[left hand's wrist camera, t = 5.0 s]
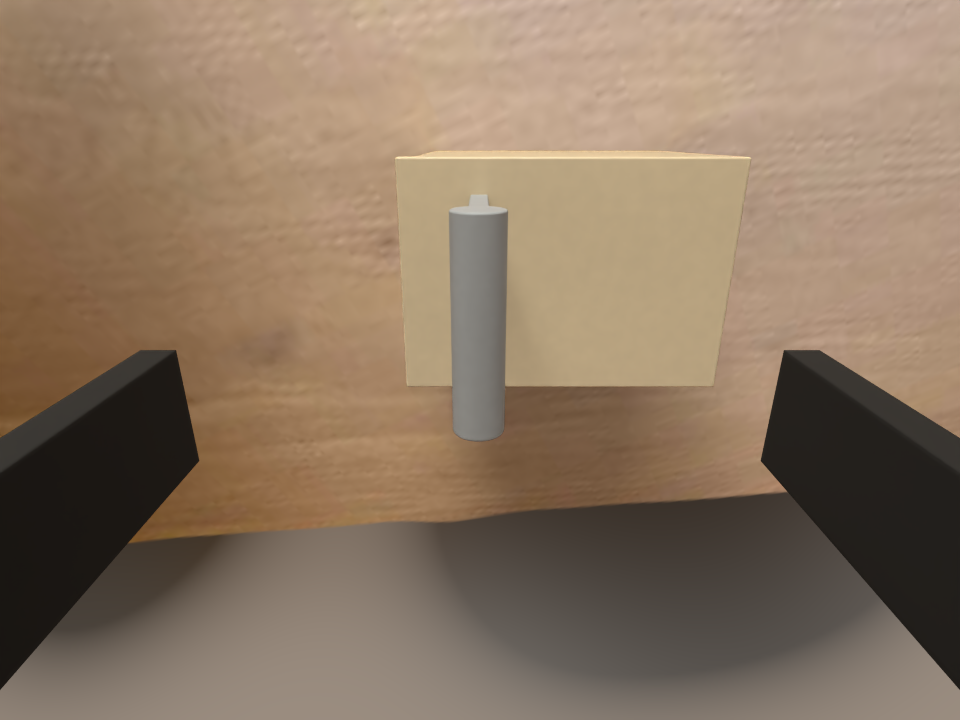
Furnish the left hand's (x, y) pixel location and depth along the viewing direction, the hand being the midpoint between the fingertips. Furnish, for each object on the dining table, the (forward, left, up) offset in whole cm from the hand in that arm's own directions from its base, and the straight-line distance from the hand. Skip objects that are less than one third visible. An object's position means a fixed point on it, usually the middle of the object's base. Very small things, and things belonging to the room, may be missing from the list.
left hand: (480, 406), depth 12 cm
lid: (+4, 0, -13) cm, 13 cm away
